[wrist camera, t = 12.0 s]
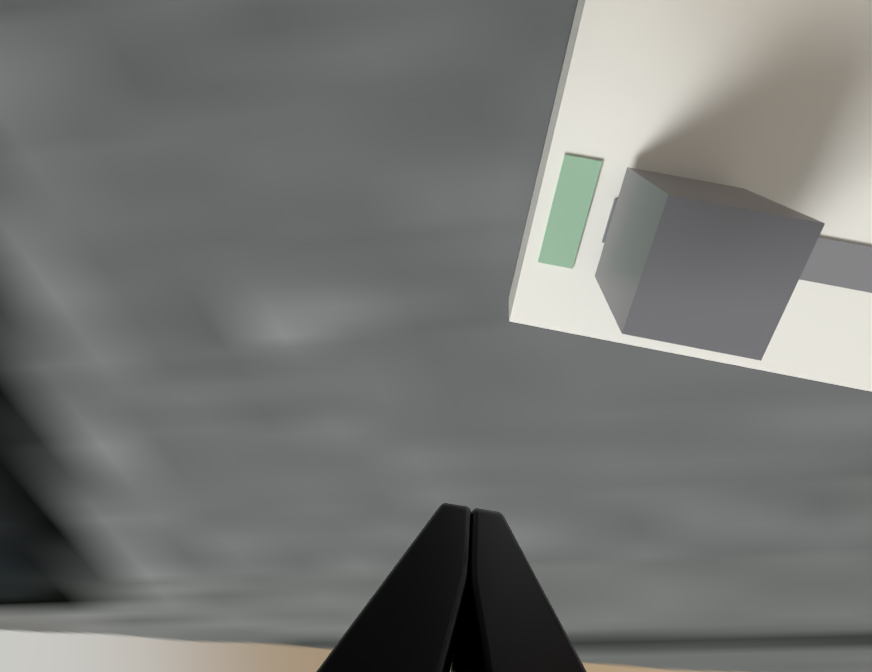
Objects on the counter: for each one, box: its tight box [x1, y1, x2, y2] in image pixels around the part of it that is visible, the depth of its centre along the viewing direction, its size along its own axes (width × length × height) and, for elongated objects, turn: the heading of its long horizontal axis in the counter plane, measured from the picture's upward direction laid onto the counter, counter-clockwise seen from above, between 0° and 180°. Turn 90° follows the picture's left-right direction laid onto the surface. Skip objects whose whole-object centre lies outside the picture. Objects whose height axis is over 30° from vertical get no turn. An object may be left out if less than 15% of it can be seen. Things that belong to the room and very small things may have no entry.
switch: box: [595, 167, 825, 361], centre depth 13 cm, size 3×3×4 cm
